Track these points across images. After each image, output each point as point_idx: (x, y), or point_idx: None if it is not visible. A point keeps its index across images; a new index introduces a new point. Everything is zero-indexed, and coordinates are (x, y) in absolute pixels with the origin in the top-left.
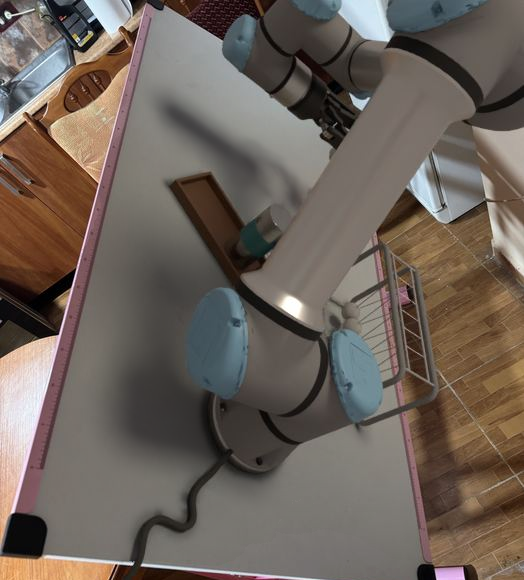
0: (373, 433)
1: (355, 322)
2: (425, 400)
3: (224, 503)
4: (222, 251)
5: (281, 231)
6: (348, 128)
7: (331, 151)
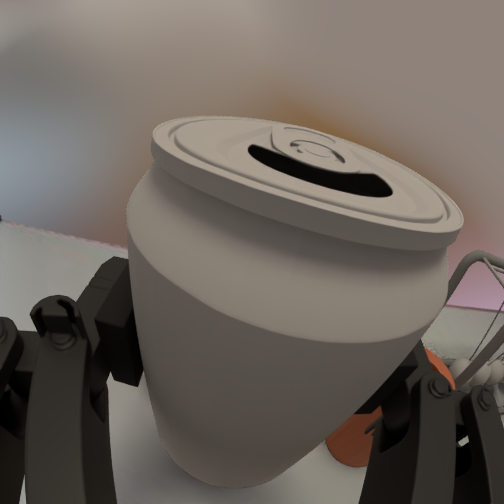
0: (501, 346)
1: (488, 369)
2: None
3: None
4: None
5: None
6: (106, 404)
7: (220, 484)
